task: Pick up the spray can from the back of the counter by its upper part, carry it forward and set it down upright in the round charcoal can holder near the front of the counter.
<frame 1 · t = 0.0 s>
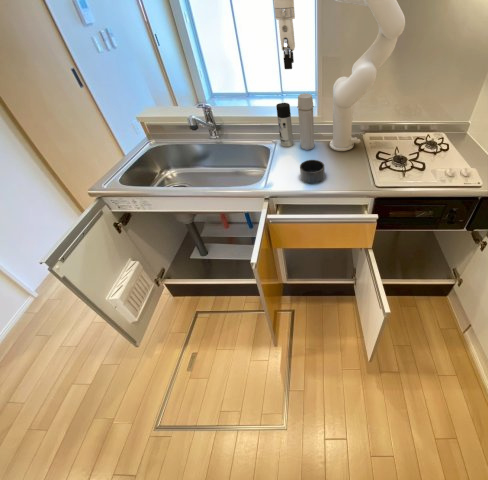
hand: (289, 65, 114), 37 cm above the counter, tool pointing down, fingers open, 9 cm apart
can holder: (312, 176, 120), on the counter
spray can: (287, 144, 143), on the counter
water bottle: (307, 146, 140), on the counter
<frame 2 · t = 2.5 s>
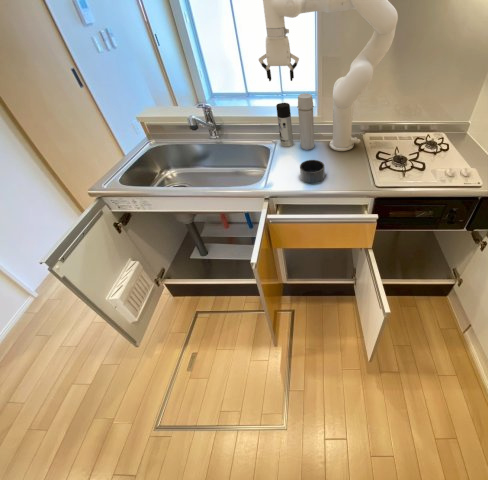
hand: (280, 80, 120), 31 cm above the counter, tool pointing down, fingers open, 9 cm apart
nothing on the counter moved.
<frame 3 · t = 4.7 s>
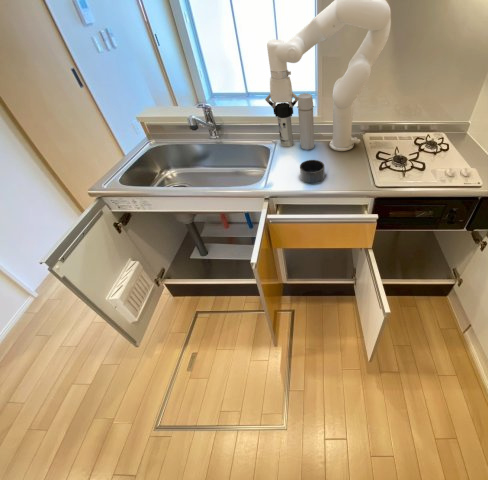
hand: (283, 115, 132), 15 cm above the counter, tool pointing down, fingers closed on spray can, 6 cm apart
spray can: (287, 144, 143), on the counter, touching gripper
everything else where it was.
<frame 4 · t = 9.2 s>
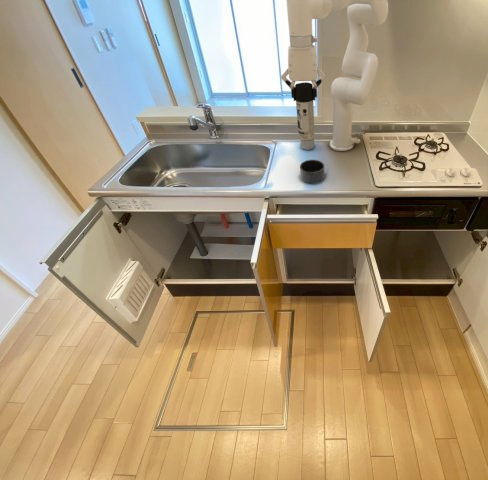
hand: (304, 99, 100), 31 cm above the counter, tool pointing down, fingers closed on spray can, 6 cm apart
spray can: (306, 138, 111), point 16 cm above the counter, touching gripper
everything else where it was.
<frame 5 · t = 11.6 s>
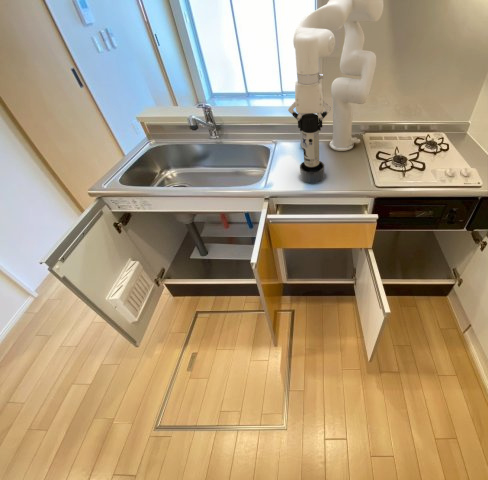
hand: (310, 129, 104), 22 cm above the counter, tool pointing down, fingers closed on spray can, 6 cm apart
spray can: (312, 163, 115), point 7 cm above the counter, touching gripper
everything else where it was.
when the fingers open (16 cm above the counter, at t = 13.6 s): spray can stays where it is, resting on can holder.
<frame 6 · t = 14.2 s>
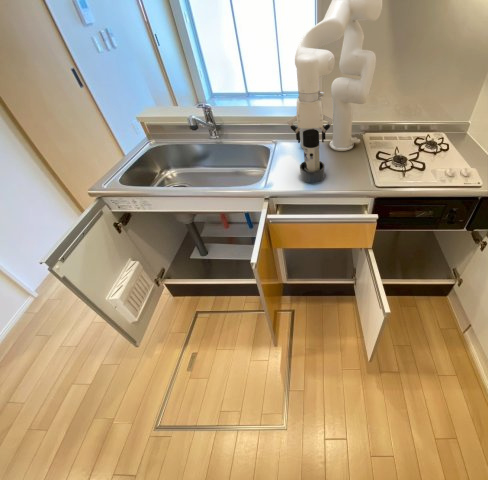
hand: (311, 141, 108), 17 cm above the counter, tool pointing down, fingers open, 9 cm apart
spray can: (312, 176, 120), resting on can holder
everything else where it was.
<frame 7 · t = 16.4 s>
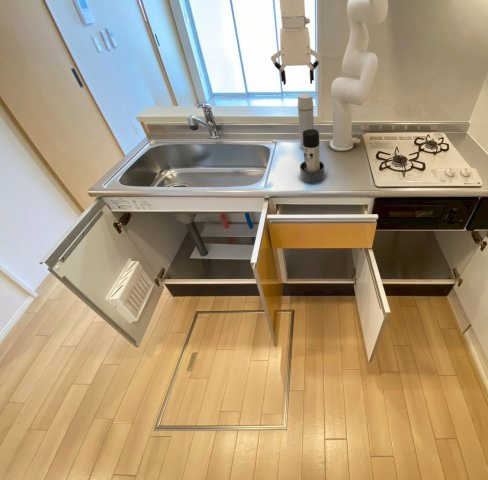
hand: (298, 83, 97), 37 cm above the counter, tool pointing down, fingers open, 9 cm apart
nothing on the counter moved.
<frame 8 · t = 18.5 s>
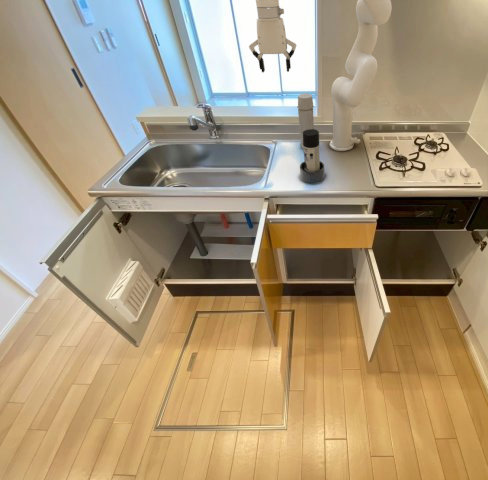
hand: (275, 71, 103), 38 cm above the counter, tool pointing down, fingers open, 9 cm apart
nothing on the counter moved.
at the end: spray can 0.0 cm off-centre in the can holder, point 0.4 cm above the can holder's base; spray can tilted 0°; the gripper is holding nothing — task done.
